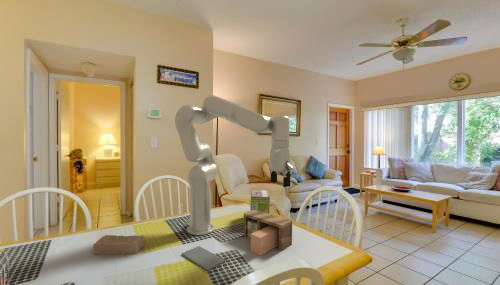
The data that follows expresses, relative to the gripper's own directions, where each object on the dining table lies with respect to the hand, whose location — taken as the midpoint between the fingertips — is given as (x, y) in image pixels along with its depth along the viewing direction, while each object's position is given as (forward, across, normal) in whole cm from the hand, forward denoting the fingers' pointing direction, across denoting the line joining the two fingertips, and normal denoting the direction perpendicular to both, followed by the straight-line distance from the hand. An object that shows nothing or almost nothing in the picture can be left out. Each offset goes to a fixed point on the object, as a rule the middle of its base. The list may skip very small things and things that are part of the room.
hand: (280, 184), depth 102 cm
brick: (+25, -22, -61) cm, 70 cm away
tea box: (+25, -26, +5) cm, 36 cm away
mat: (+24, -1, -34) cm, 42 cm away
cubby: (+24, -3, -5) cm, 25 cm away
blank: (+25, +3, -9) cm, 26 cm away
